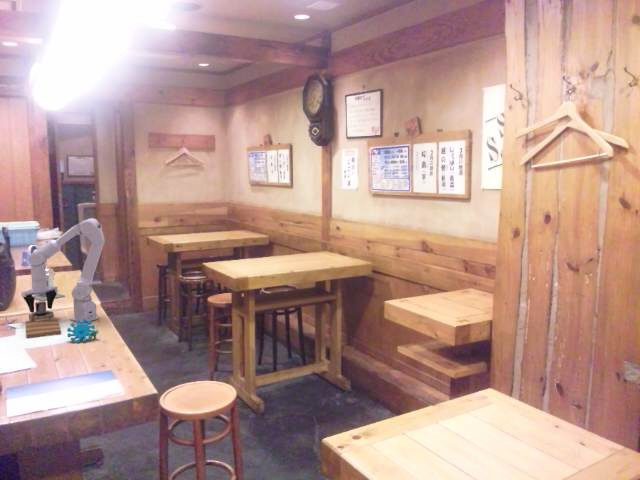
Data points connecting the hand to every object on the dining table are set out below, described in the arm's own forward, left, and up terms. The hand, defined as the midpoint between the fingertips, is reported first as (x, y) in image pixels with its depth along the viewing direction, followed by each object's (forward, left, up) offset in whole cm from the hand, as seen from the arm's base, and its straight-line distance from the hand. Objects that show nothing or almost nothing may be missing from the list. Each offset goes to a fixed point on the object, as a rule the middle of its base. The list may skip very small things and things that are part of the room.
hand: (41, 310), depth 231 cm
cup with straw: (+48, -28, -5) cm, 56 cm away
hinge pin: (0, 0, -5) cm, 5 cm away
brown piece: (-9, +4, -5) cm, 11 cm away
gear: (-38, +4, -5) cm, 39 cm away
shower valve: (+41, -24, -5) cm, 47 cm away
